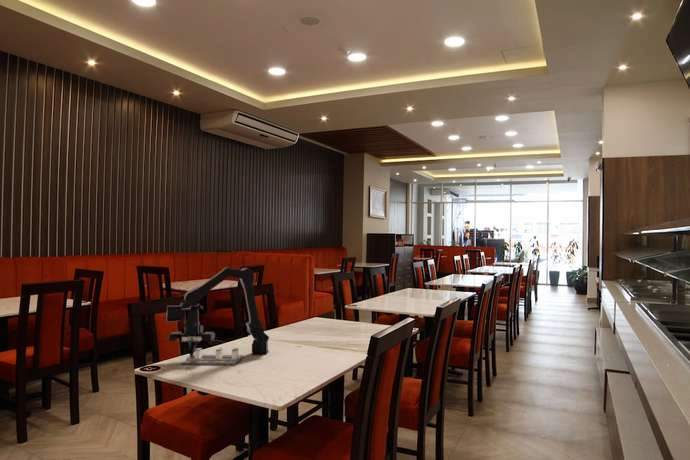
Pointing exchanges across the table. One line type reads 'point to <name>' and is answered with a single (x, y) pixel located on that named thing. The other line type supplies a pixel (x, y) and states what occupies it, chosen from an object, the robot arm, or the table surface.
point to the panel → (212, 360)
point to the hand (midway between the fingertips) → (191, 356)
